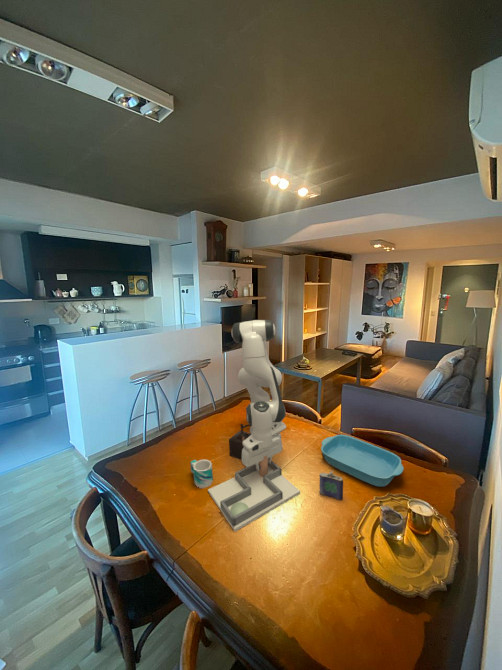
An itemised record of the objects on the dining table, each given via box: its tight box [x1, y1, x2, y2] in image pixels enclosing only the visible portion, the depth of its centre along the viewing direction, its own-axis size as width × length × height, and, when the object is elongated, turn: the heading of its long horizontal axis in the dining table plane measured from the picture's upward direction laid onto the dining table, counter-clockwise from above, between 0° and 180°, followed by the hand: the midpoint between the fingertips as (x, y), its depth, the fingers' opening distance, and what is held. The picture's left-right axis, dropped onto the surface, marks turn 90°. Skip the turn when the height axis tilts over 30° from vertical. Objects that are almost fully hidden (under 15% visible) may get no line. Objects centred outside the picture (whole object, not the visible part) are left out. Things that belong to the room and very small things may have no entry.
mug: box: [189, 458, 214, 489], centre depth 122 cm, size 8×12×8 cm
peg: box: [259, 456, 268, 477], centre depth 122 cm, size 4×4×10 cm
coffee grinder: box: [228, 423, 251, 461], centre depth 141 cm, size 16×11×18 cm
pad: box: [230, 502, 248, 516], centre depth 104 cm, size 7×7×1 cm
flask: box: [318, 470, 344, 501], centre depth 110 cm, size 9×3×11 cm, turn 65°
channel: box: [207, 459, 301, 532], centre depth 113 cm, size 31×23×4 cm
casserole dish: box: [320, 434, 405, 487], centre depth 127 cm, size 37×22×7 cm, turn 44°
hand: (263, 466), depth 122 cm, fingers closed on peg, 4 cm apart
